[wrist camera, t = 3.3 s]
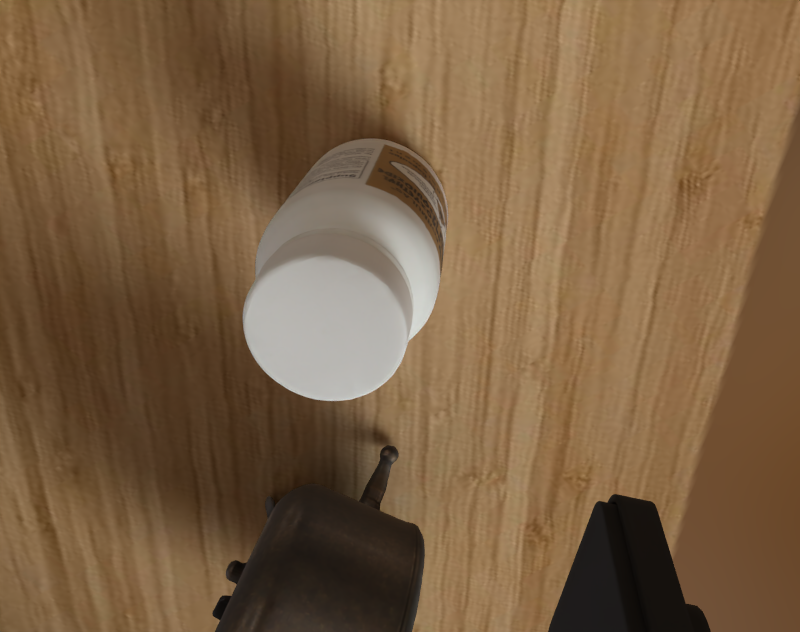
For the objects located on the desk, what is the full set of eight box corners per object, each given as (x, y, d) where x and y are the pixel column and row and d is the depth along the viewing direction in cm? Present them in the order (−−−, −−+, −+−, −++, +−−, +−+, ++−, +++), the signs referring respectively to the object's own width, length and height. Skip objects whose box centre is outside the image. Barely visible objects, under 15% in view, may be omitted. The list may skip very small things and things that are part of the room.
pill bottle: (470, 250, 22) (462, 390, 15) (338, 294, 23) (276, 442, 16) (416, 111, 20) (380, 198, 13) (277, 166, 21) (179, 271, 14)
